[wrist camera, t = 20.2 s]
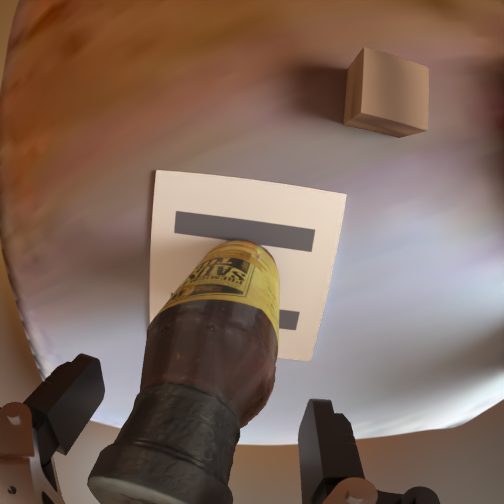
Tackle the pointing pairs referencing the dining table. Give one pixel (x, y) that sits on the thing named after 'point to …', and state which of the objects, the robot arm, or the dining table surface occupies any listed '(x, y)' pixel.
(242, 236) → the letter card
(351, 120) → the walnut block
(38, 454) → the robot arm
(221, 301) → the sauce bottle
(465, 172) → the dining table surface
